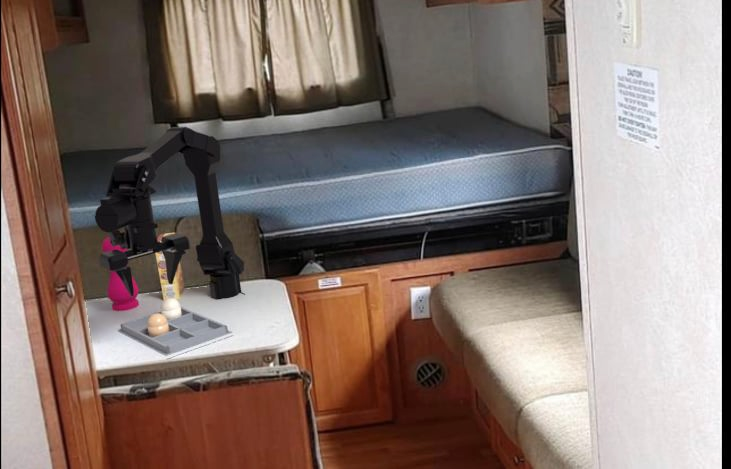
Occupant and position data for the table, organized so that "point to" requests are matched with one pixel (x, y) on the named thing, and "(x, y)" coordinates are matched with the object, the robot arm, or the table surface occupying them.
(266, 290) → the table surface
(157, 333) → the beige rounded piece
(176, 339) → the grey compartment tray
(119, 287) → the pepper mill
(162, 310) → the cream egg
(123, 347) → the table surface
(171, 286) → the candy box
